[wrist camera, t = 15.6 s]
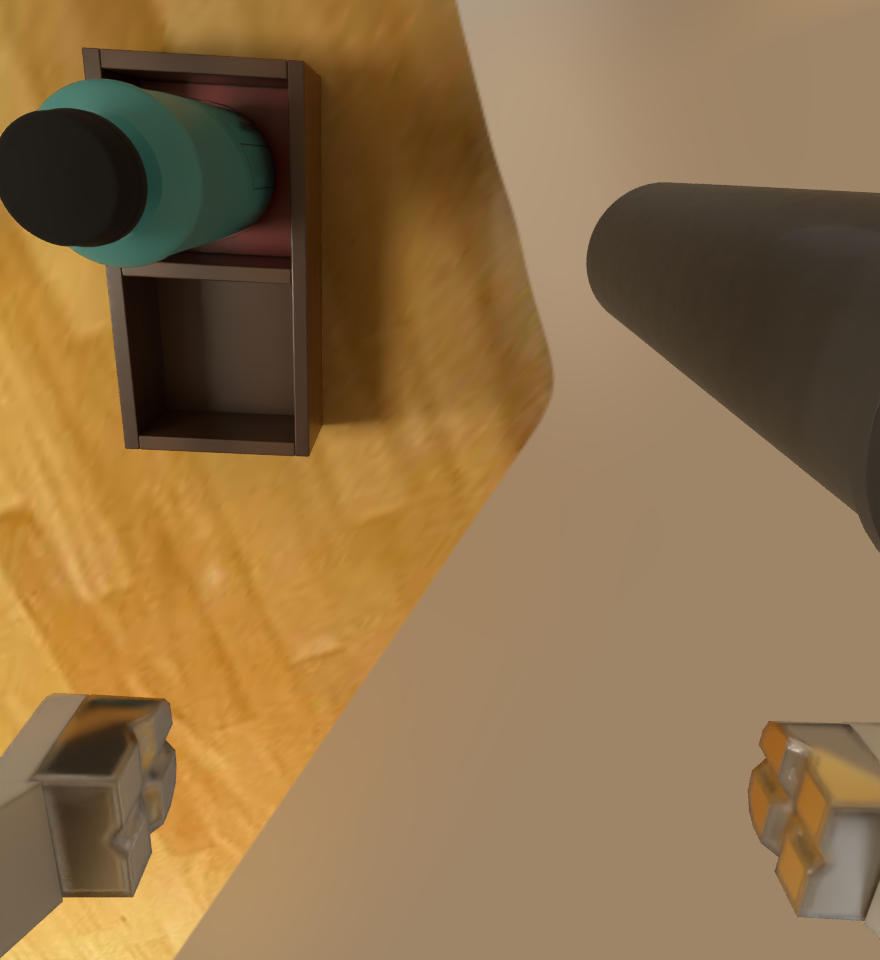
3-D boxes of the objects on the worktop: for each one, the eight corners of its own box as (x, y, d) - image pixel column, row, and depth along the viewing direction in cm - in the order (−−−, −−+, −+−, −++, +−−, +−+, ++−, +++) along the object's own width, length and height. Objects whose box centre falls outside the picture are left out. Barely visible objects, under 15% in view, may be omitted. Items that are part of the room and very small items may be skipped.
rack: (320, 75, 40) (304, 60, 35) (322, 425, 47) (309, 457, 42) (126, 63, 40) (81, 47, 35) (158, 418, 47) (124, 448, 42)
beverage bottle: (293, 123, 40) (176, 84, 22) (274, 250, 43) (153, 312, 24) (169, 90, 40) (-61, 21, 21) (156, 221, 42) (-60, 262, 24)
